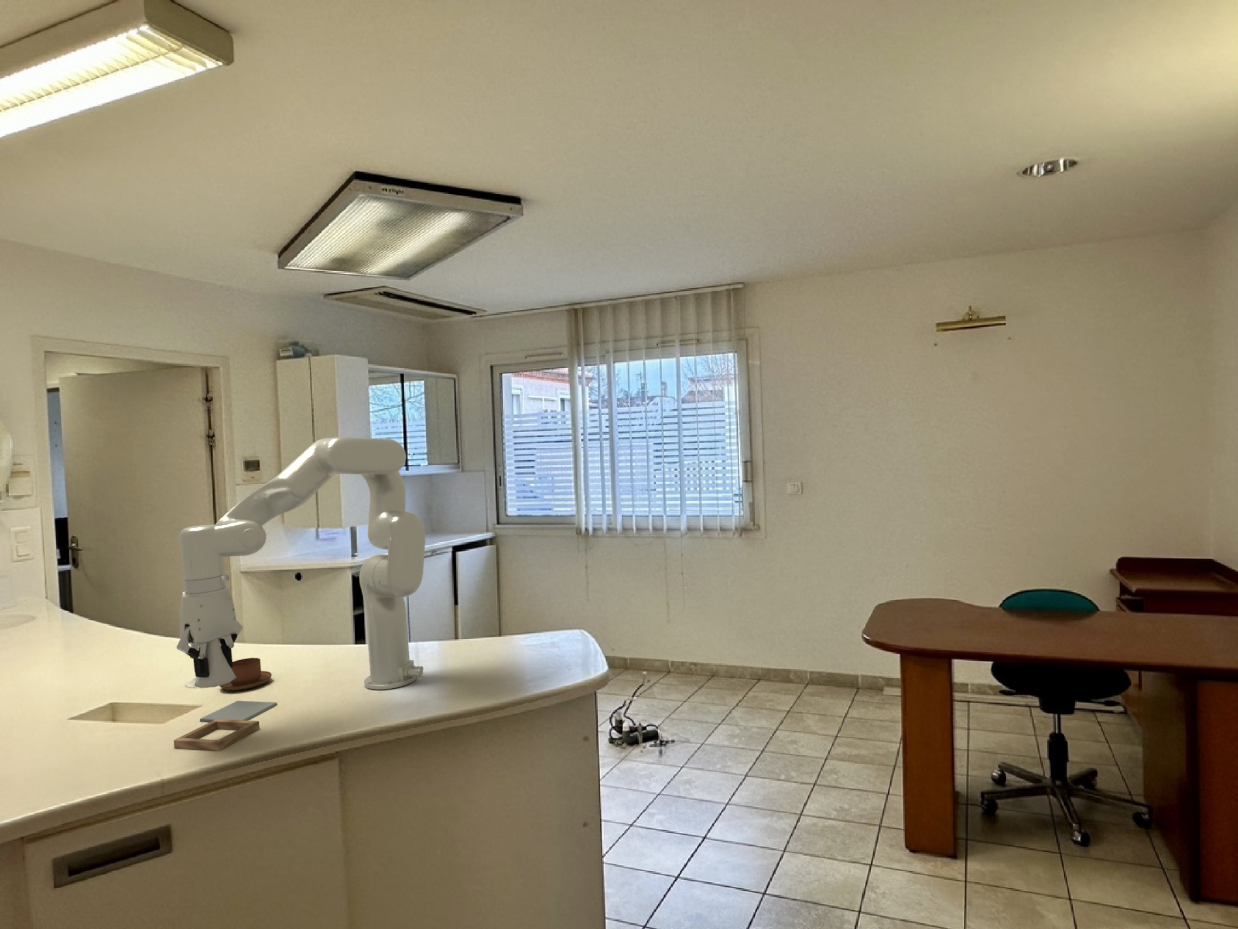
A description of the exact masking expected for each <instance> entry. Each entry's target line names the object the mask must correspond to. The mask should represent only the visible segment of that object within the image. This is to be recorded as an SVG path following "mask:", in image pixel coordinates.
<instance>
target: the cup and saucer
mask: <svg viewBox="0 0 1238 929" xmlns="http://www.w3.org/2000/svg"><path fill="white" fill-rule="evenodd" d="M232 662H233V667H232V668H231V669H232V671H233V673H234V674H235V676H236V678H235V679H234V680H232V681H231V682H229V683H226V684H223V685H220V686H219V687H220V688H221V689H223V690H226V691H242V690H249V689H252V688H256V687H258V686H261V685H263V684H265V683H267V682H268V681H269V680H270V679H271V678H272V676H273V674H272V672H270V671H267V670H266V671H265V670H262V665H261V658H259V657H247V658H242V659H237V660H234V661H233V660H232Z"/></svg>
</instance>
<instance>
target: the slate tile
mask: <svg viewBox="0 0 1238 929" xmlns="http://www.w3.org/2000/svg"><path fill="white" fill-rule="evenodd" d="M277 705H278V702H275V701H273V702H272V701H253V700H252V701H250V700H249V701H248V700H236V701H234V702H233V703H232V702H231V703H229V704H228V705H226V706H223V707H222V708H220V709H217V710H216V711H213V712H211V713H209V714H207V715H205V716H203V717H201V718H199V722H201V723H202V722H203V723H204V722H205V723H210V722H212V721H214V720H216V719H225V720H245V721H250V720H251V719H253V718H255V717H257V716H259V715H260V714H262V713H265V712H266V711H268V710H270V709H272V708H274V707H276V706H277Z"/></svg>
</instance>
